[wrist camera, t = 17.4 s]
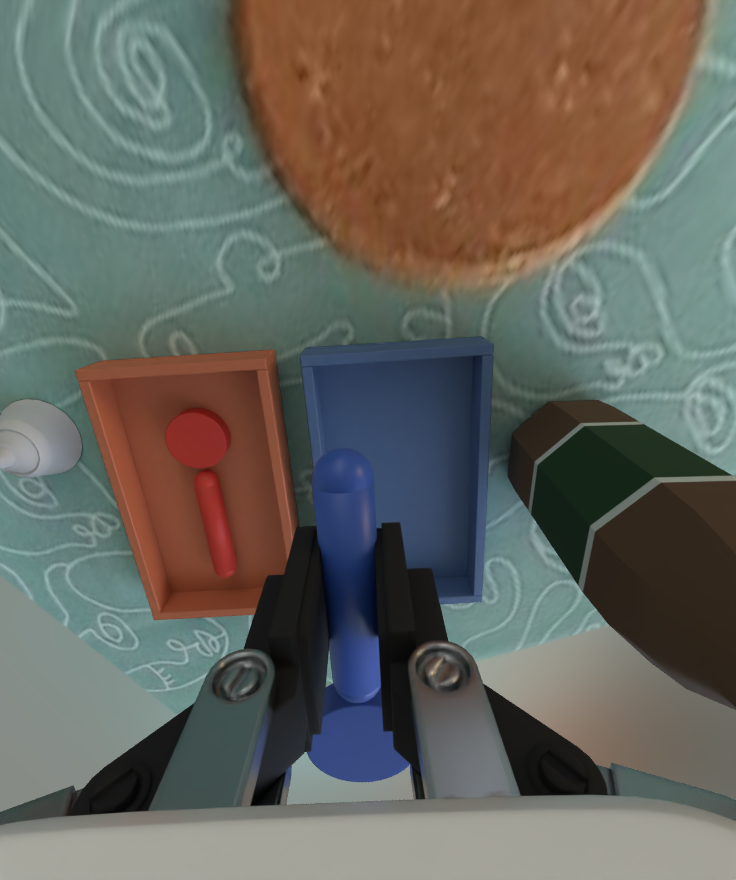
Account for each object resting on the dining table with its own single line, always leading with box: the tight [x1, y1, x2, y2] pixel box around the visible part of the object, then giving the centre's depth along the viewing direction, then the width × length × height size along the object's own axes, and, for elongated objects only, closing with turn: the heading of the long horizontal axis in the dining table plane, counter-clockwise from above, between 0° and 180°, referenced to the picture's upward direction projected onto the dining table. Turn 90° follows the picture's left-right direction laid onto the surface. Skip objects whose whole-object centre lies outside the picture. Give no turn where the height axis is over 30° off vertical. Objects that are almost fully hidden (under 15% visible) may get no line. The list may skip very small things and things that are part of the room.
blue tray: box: [300, 336, 494, 604], centre depth 27 cm, size 17×10×2 cm, turn 4°
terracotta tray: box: [75, 350, 299, 620], centre depth 27 cm, size 17×10×2 cm, turn 4°
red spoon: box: [165, 408, 237, 578], centre depth 28 cm, size 12×4×2 cm, turn 4°
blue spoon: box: [307, 448, 410, 782], centre depth 12 cm, size 12×4×2 cm, turn 3°
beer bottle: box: [508, 400, 736, 710], centre depth 17 cm, size 8×8×24 cm
